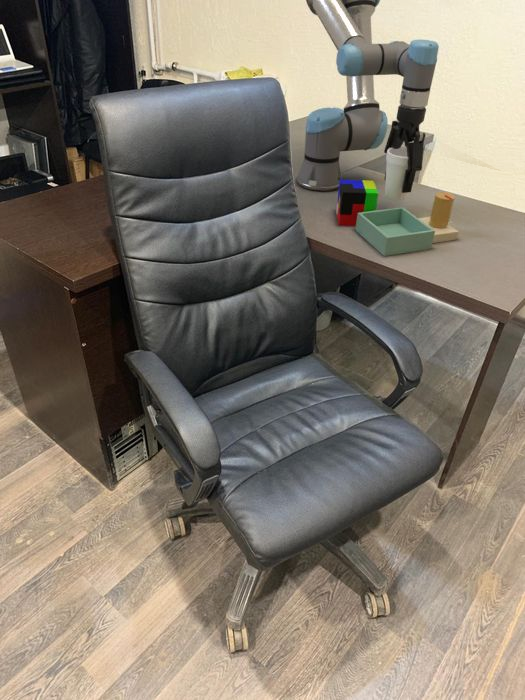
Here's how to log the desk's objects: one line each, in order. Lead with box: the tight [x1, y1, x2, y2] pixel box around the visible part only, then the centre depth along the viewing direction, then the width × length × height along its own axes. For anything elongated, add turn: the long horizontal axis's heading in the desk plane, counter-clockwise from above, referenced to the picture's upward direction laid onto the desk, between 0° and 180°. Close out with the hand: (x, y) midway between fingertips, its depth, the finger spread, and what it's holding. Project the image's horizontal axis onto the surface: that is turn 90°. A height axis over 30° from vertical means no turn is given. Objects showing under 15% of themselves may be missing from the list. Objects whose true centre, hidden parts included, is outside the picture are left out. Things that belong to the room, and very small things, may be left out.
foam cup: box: [384, 146, 408, 201], centre depth 155 cm, size 10×9×13 cm
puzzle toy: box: [335, 179, 379, 227], centre depth 155 cm, size 10×10×10 cm
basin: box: [354, 206, 435, 257], centre depth 146 cm, size 17×15×5 cm
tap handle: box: [429, 191, 456, 228], centre depth 147 cm, size 5×5×9 cm
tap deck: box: [417, 216, 459, 244], centre depth 150 cm, size 11×10×3 cm
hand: (397, 185), depth 158 cm, fingers closed on foam cup, 9 cm apart
